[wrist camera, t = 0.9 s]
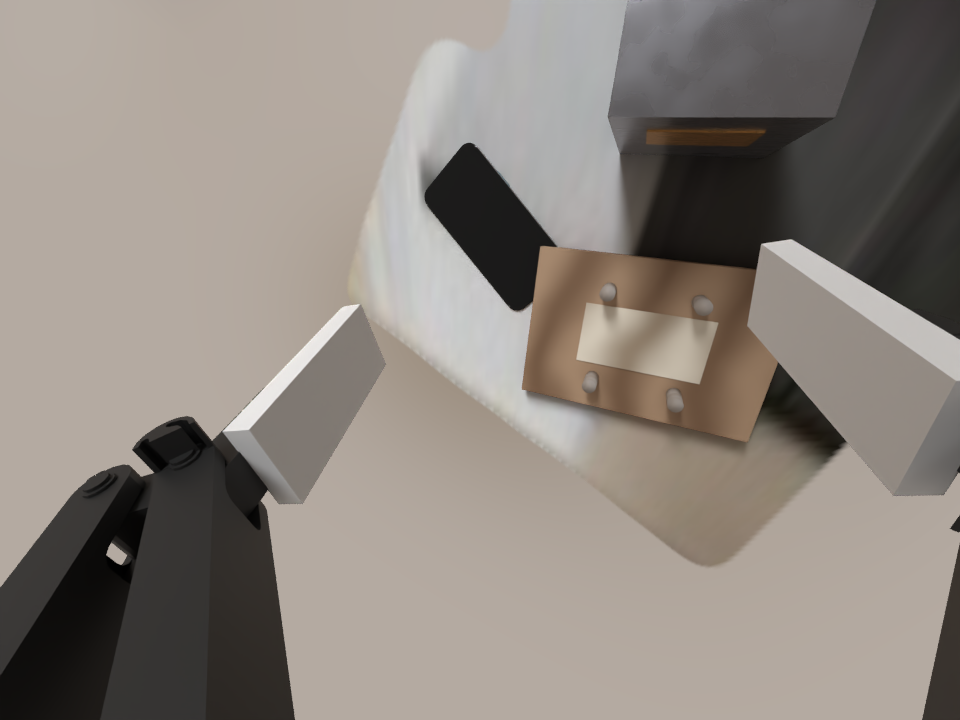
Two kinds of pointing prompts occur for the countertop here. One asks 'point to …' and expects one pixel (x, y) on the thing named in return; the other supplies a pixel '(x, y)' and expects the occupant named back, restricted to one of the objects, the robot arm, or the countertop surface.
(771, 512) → the countertop surface
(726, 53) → the block
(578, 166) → the countertop surface
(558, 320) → the dock
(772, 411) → the countertop surface
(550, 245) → the smartphone
